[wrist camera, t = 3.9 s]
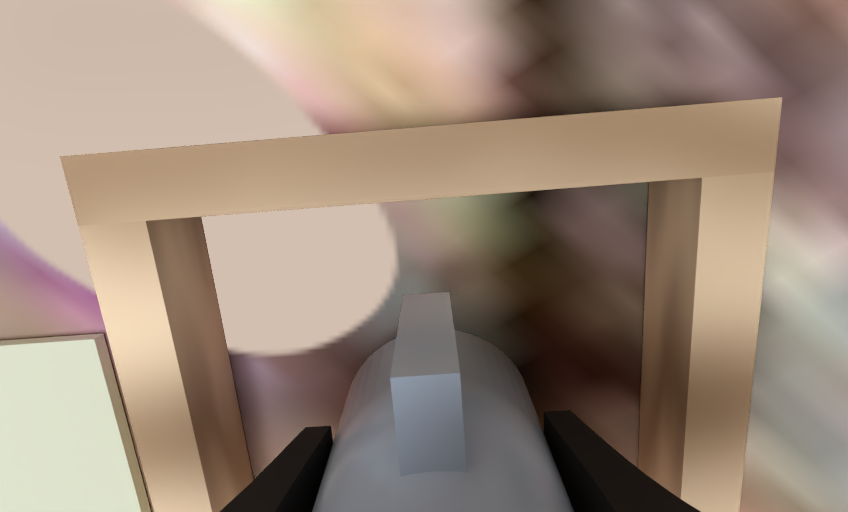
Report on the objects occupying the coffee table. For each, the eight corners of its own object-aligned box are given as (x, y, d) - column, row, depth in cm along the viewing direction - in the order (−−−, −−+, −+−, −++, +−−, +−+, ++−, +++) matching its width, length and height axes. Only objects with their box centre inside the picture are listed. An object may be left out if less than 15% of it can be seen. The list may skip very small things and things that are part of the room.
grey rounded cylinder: (532, 486, 14) (621, 790, 7) (357, 496, 14) (297, 804, 7) (526, 262, 12) (634, 407, 6) (327, 277, 12) (219, 433, 6)
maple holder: (679, 576, 16) (724, 656, 14) (233, 600, 16) (199, 682, 14) (711, 103, 12) (782, 97, 10) (130, 151, 13) (60, 156, 10)
